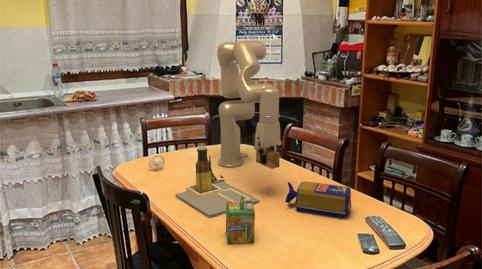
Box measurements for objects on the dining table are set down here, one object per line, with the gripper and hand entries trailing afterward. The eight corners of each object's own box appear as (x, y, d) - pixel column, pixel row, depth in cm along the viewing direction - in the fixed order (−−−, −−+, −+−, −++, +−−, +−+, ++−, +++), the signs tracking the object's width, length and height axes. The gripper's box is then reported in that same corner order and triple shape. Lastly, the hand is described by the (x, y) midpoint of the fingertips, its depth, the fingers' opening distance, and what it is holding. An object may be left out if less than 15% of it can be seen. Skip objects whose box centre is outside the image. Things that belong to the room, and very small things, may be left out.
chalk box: (225, 231, 161) (225, 192, 157) (251, 231, 162) (252, 191, 158) (227, 245, 153) (227, 203, 149) (254, 244, 153) (255, 202, 149)
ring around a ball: (163, 167, 225) (162, 151, 223) (168, 171, 220) (167, 155, 218) (147, 170, 221) (147, 154, 219) (152, 174, 216) (151, 157, 214)
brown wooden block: (263, 160, 194) (263, 146, 192) (279, 166, 186) (279, 152, 185) (255, 162, 192) (256, 148, 190) (271, 168, 184) (272, 154, 182)
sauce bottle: (214, 193, 191) (214, 147, 186) (207, 198, 186) (206, 151, 181) (200, 190, 194) (200, 145, 189) (193, 196, 188) (192, 149, 183)
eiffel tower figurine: (198, 188, 201) (197, 159, 197) (190, 181, 209) (189, 152, 206) (229, 183, 207) (230, 155, 203) (221, 176, 216) (220, 148, 212)
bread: (347, 221, 170) (349, 195, 167) (282, 210, 179) (283, 185, 176) (352, 210, 179) (353, 185, 177) (289, 200, 188) (290, 176, 185)
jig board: (223, 184, 205) (223, 175, 204) (259, 202, 186) (259, 192, 184) (175, 196, 191) (175, 187, 189) (209, 218, 171) (209, 207, 170)
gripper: (278, 114, 191) (276, 156, 196) (246, 119, 182) (245, 163, 187) (290, 117, 186) (288, 160, 191) (258, 123, 176) (257, 169, 181)
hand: (267, 161), depth 189 cm, fingers closed on brown wooden block, 4 cm apart
